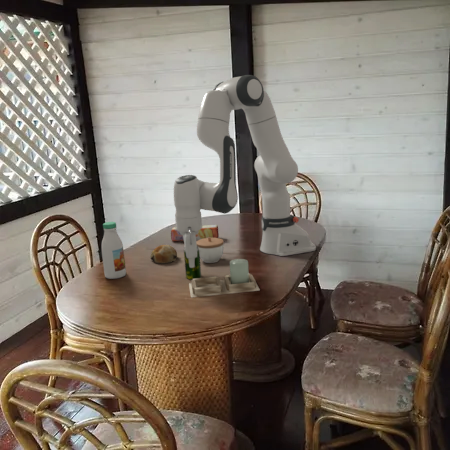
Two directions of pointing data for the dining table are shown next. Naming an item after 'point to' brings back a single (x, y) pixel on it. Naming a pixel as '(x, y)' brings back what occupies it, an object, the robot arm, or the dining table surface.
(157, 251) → the bread roll
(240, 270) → the mint green domed part
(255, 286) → the caddy
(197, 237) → the snack package
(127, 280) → the dining table surface
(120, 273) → the milk bottle
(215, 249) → the lidded jar
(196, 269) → the beer can
